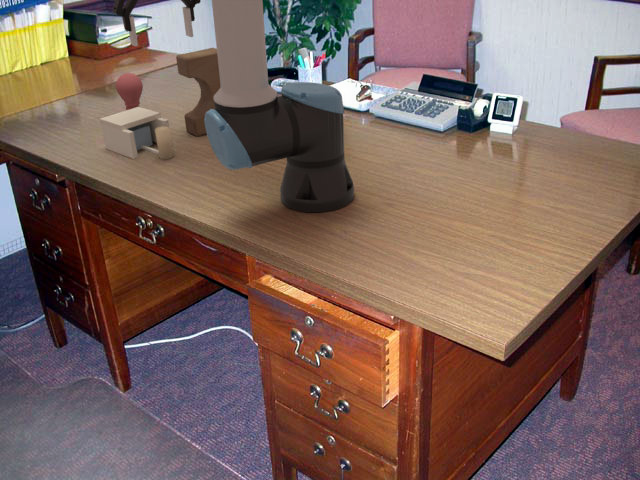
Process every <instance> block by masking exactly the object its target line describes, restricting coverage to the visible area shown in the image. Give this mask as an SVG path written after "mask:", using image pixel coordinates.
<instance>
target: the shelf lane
mask: <svg viewBox="0 0 640 480" xmlns="http://www.w3.org/2000/svg"><path fill="white" fill-rule="evenodd" d="M99 122H100V126H101V133H102V137H103V143H104V148H105V149H106V150H108V151H111V152H114V153H116V154H119V155H122V156H124V157H127V158H130V159H133V160H134V159H138V157H139V156H138V150H137V149H136V144H135V138H134V132H133V131H130V130H127V129H128V128H131V127H134V126H137V125H140V124H146V125H149V126H150V132H151V138H152V142H154V143H157V139H156V133H155V129H156V128H158V127H163V126H166V127H169V128H170V123H169V119H166V118H163V117H161V113H160V112H158V111H156V110H155V111H154V110H151V109H148V108H144V107H136V108H133V109H130V110H126V109H125V110H122V111H120V112H118V113H114V114H111V115H107V116H104V117H102V118H101V117H100V119H99Z"/></svg>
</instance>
